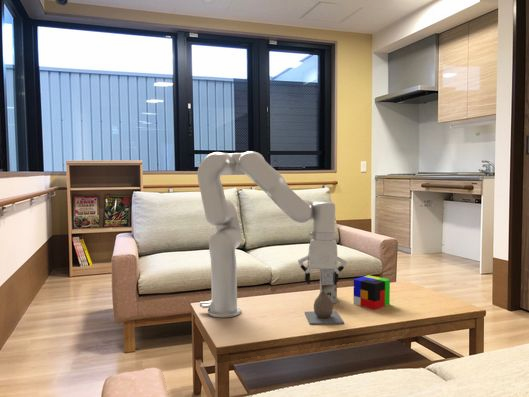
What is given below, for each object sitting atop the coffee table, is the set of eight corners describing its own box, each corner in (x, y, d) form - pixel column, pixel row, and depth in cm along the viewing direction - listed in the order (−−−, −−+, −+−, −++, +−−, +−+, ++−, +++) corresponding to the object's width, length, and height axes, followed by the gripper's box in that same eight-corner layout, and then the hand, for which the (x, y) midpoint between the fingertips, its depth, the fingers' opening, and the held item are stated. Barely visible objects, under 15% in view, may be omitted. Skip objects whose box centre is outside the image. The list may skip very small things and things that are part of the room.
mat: (309, 324, 145) (309, 323, 145) (304, 313, 157) (304, 311, 157) (344, 323, 146) (344, 322, 146) (336, 312, 158) (336, 310, 158)
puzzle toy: (353, 304, 168) (353, 279, 167) (368, 298, 174) (368, 275, 174) (375, 310, 160) (375, 284, 160) (389, 304, 167) (389, 279, 166)
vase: (332, 320, 147) (332, 296, 147) (313, 319, 149) (313, 295, 148) (333, 314, 154) (333, 290, 154) (314, 313, 155) (314, 289, 155)
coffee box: (337, 303, 169) (337, 263, 168) (321, 303, 169) (321, 263, 168) (334, 296, 178) (334, 258, 177) (319, 296, 178) (319, 258, 177)
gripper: (300, 237, 145) (298, 286, 147) (350, 238, 146) (347, 287, 148) (297, 234, 153) (296, 280, 154) (344, 235, 154) (342, 281, 155)
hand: (321, 283), depth 151 cm, fingers open, 9 cm apart
